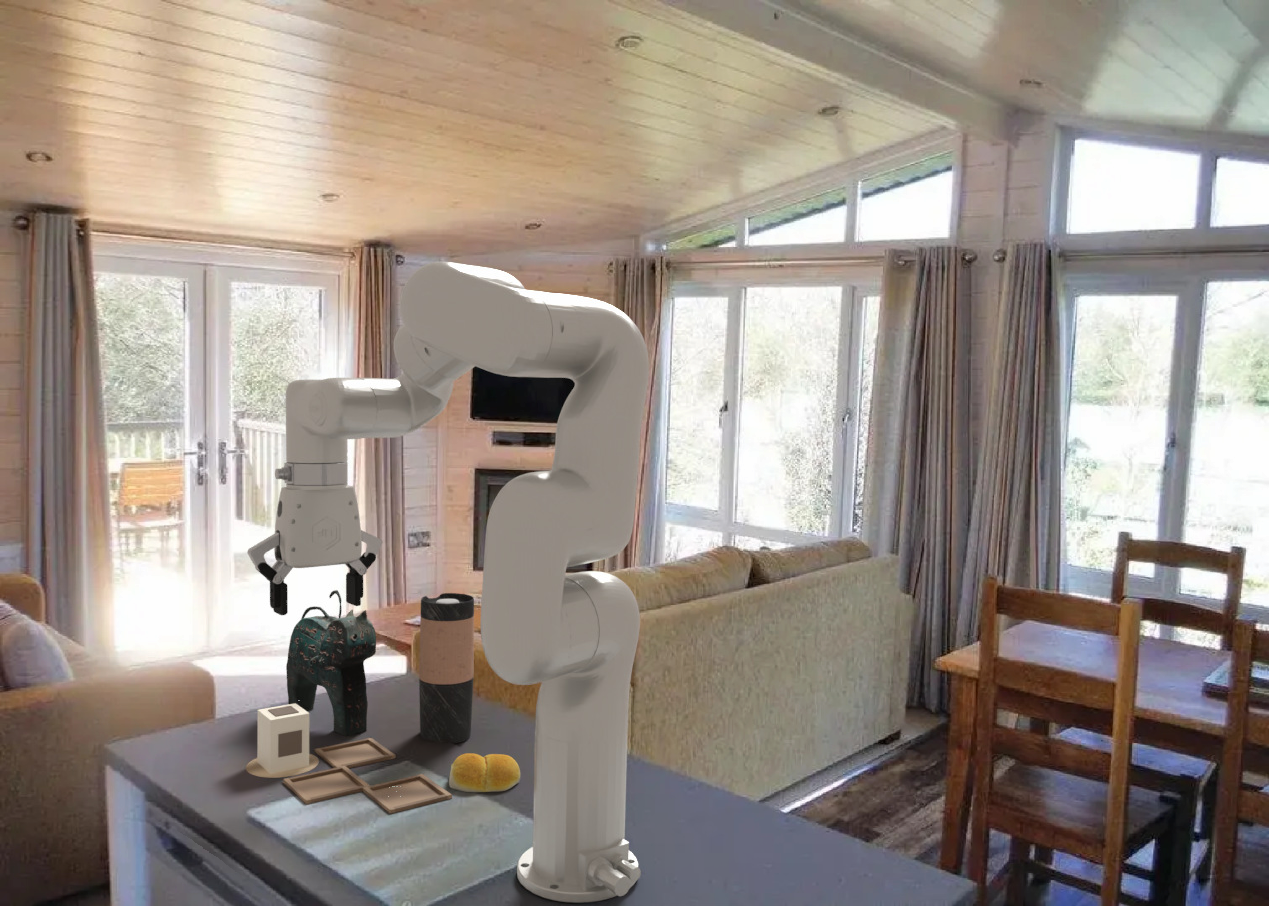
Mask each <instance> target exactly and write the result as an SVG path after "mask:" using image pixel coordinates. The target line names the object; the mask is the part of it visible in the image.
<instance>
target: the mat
mask: <svg viewBox="0 0 1269 906" xmlns="http://www.w3.org/2000/svg"><path fill="white" fill-rule="evenodd" d="M319 762H320V761H319V758H318V757H317V756H316V755H314V754H313V753H309V766H307V767H302V768H297V769H293V770H288V771H283V772H279V773H274V774H270V773H269V772H267V771H266V770H265V769H264V768H263V767H262V766H261V765H260V764H259V763H258V762H257V757H256V758H253V759H252V760H250V761H249V762H248V763H247V764H246V766H245V770H246V772H247V773H248V774H250V775H253V776H256V777H260V778H271V779H272V778H275V779H276V778H277V779H279V778H286V777H287V778H289V777H295V776H299V775H303V774H306V773H308V772H309V771H312V770H313V769H315V768H316V767H317V766H318V765H319Z"/></svg>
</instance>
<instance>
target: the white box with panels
mask: <svg viewBox="0 0 1269 906" xmlns="http://www.w3.org/2000/svg"><path fill="white" fill-rule="evenodd" d="M256 753H257V754H256V755H257V757H256V758H257V762H258V763H259V764H260V765H261V766H262V767H263V768H264V769H265V770H266V771H267V772H269V773H270V774H274V773H279V772H283V771H288V770H293V769H297V768H302V767H307V766H309V754H310V713H309V711H306V710H304V709H303V708H301V707H300V706H299V705H297V704H296V703H294V704H288V703H287V704H283V705H278V706H272V707H266V708H260V709H257V752H256Z"/></svg>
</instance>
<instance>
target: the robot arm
mask: <svg viewBox="0 0 1269 906" xmlns="http://www.w3.org/2000/svg"><path fill="white" fill-rule="evenodd" d="M399 312H400V313H399V314H400V318H401V320H402V325H401V326H400V327H399V328H398V330H397V332H396V334H395V336H394V339H393V352H394V357H395V360H396V362H397V364H398V366H399V368H400V369H401V371H402V372H403V373H402V374H400V375H398V376H397V377H395V378H381V377H329V378H323V379H296V380H292V381H291V382H290V383H288V384H287V386H286V390H285V459H286V460H285V462H284V466H283V467H281V468H275V470H274V476H275V477H274V478H275V479H276V480H282V481H284V484H285V485H286V486H285V487H284V486H283V487H281V489H280V493H279V498H278V503H277V508H276V509H277V510H276V517H275V526H274V533H273V534H271V535H270V536H268V537H266V538H264V539H263V540H261V541H259V542H258V543H257V544H254V545H252V546H251V547H249V548H248V550H247V555H248V557H249V559H250V561H251V563H252V564H253V565H254V568H255V570H256V571H257V572H259V574H261V575H262V576H263V577H264V578H265V579H266V580H267V581H269V605H270V608H271V609H273V612H274V613H276V614H277V615H280V616H286V615H287V614H288V583H286V582H285V579H286V578H287V576H288V575H289V574H290V572H291V571H292V569H305V568H308V569H309V568H316V567H326V566H327V567H328V566H337V565H338V566H339V565H345V566H346V567H347V568H348V570H349V572H347V573H346V574H345V585H346V586H345V596H346V597H345V602H346V603H347V604H350V605H352V606H355V607H359V606H361V604H362V600H361V599H362V598H363V597H364V576H365V575H366V574H367V573H368V569H369V568H370V567H371V566H372V565H373V564H374V562H376V558H377V555H379V554H378V553H379V551H380V549H381V548H382V545H383V540H382V539H381V538H379V537H377V536H374V535H373V534H372V533H368V532H366V531H364V530H362V528H361V527H362V526H361V517H360V511H359V504H358V499H357V494H356V493H357V492H356V489H355V486H354V485H349V484H348V483H349V482H348V481H349V480H348V476H349V475H348V473H349V472H348V464H349V463H348V459H349V458H348V440H360V439H382V438H383V439H388V438H390V439H392V438H399V437H403V436H407V435H408V434H411V433H413V432H415V431H417V430H418V429H420V428H421V427H423V426H424V425H426V424H427V423H429V422H431V421H432V420H433V419H435V418H436V417H438V416H440V414H441V413H442V412H443V411H444V409H446V407H447V405H448V404H449V403H448V402H449V401H450V398H451V395H452V393H453V388H454V381H456V380H458V379H459V378H461V377H462V376H463V375H465V374H466V373H468V372H469V371H471V370H472V369H474V368H475V367H476V368H479V369H482V370H484V371H487V372H490V373H493V374H496V375H500V376H505V377H506V376H507V377H516V378H545V379H546V378H547V379H549V378H555V379H556V378H558V379H559V378H561V379H562V378H563V379H564V378H565V379H570V380H571V381H573V383H574V387H573V389H571V391H570V393H569V394H568V396H567V397H566V399H565V401H564V403H563V406H562V407H561V410H560V413H559V416H558V419H557V422H556V428H555V444H554V452H553V453H554V455H553V459H552V465H551V469H550V470H540V471H534V472H533V471H532V472H526V473H524V474H520V475H518V476H516V477H513V478H512V479H511V480H509V481H508V482H507V483H505V485H503V486H502V487H501V489H500V490H499V491H498V493H497V495H496V497H495V498H494V500H493V502H492V505H491V507H490V509H489V514H488V516H487V521H486V528H485V539H484V540H485V541H484V556H483V572H482V585H481V586H482V589H481V605H480V639H481V645H482V649H483V652H484V656H485V659H486V660H487V664H488V665H489V666H490V668H491V670H492V671H493V672H494V673H495V674H496V675H497V676H498V677H499V678H500V679H502V680H503V681H506V682H507V683H510V684H513V685H518V686H528V685H529V686H530V685H534V684H535V685H536V684H540V687H539V689H538V695H537V700H536V706H535V725H534V727H535V729H534V764H533V766H534V767H533V768H534V769H533V773H534V774H533V775H534V776H533V821H532V822H533V824H532V825H533V826H532V846H531V847H530V848H528V849H527V850H525V851H524V852H523V854H521V856H520V857H519V859H518V861H517V866H516V873H517V879H518V881H519V883H520V884H521V885H522V886H523V888H525V889H526V890H528V891H529V892H531V893H532V894H534V895H536V896H539V897H542V898H544V899H548V900H551V901H557V902H564V903H574V904H575V903H576V904H577V903H578V904H579V903H580V904H581V903H594V902H600V901H601V902H602V901H604V900H608V899H612V898H614V897H617V896H618V897H622V896H625V895H626V894H628V892H629V890H630V889H631V888H632V887H633V886H634V885H635V883H636V882H637V881H638V880H639V879H640V877H641V875H642V871H641V869H640V868H639V867H640V866H639V865H640V864H639V861H638V859H637V857H636V855H635V854H634V853H633V852H632V851H630V842H629V840H626V839H625V836H626V835H625V834H626V802H627V801H626V800H627V799H626V798H627V795H626V794H627V764H628V762H627V761H628V760H627V759H628V729H629V708H630V707H629V703H630V690H631V689H630V688H631V679H632V671H633V668H634V666H633V665H634V661H635V657H636V653H637V652H636V651H637V648H638V642H639V637H640V629H641V616H640V615H641V614H640V608H639V605H638V601H637V599H636V597H635V595H634V592H633V590H631V588H630V587H629V585H628V584H627V583H625V582H624V581H623V580H622V579H620V578H619V577H617V576H616V575H614V574H611V573H609V572H604V571H594V570H588V571H579V572H573V573H568V574H566V572H567V568H569V567H574V566H575V567H576V566H580V565H581V566H582V565H585V564H586V565H587V564H590V563H595V562H601V561H603V560H607V559H610V558H613V557H614V556H617V555H619V554H620V553H621V552H623V551H624V549H625V548H626V546H627V545H628V544H629V542H630V540H631V537H632V534H633V530H634V522H635V511H636V501H637V500H636V499H637V486H638V476H639V475H638V474H639V463H640V462H639V461H640V449H641V448H640V442H641V441H640V440H641V433H642V432H641V430H642V424H643V423H642V422H643V421H642V420H643V416H644V408H645V402H646V397H647V391H648V385H649V377H650V376H649V375H650V373H649V372H650V360H649V353H648V348H647V345H646V341H645V339H644V336H643V335H642V333H641V331H640V329H639V327H638V326H637V325H636V324H635V322H634V321H633V320H632V319H631V317H629V316H628V315H627V314H626V313H625V312H623V311H622V310H620V309H619V308H617V307H615V306H614V305H612V304H609V303H607V302H605V301H602V300H598V299H595V298H591V297H586V296H580V295H576V294H575V295H574V294H566V293H555V292H546V291H539V290H531V289H526V288H525V286H524V285H523V283H521V281H519V280H518V279H517V278H516V277H514V276H513V275H511V274H509V273H508V272H505V271H502V270H499V269H496V268H492V267H487V266H479V265H472V264H465V263H459V262H453V261H452V262H451V261H441V260H440V261H434V262H429V263H427V264H424V265H423V266H420V267H419V268H417V270H415V271H414V272H413V273H412V274H411V275H410V276H409V277H408V279H407V280H406V282H405V283H404V286H403V288H402V290H401V294H400V300H399ZM362 542H363V543H365V544H366V548H365V552H363V550H362V549H363V548H362V546H363V543H362ZM273 549H274V551H273V553H274V557H275V560H276V562H275V563H274V564H273V566H271V565H270V564H268V563H267V561H266V559H265V554H267V553H268V552H270V551H271V550H273ZM362 552H363V553H362Z"/></svg>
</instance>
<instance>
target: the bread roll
mask: <svg viewBox="0 0 1269 906" xmlns="http://www.w3.org/2000/svg"><path fill="white" fill-rule="evenodd" d="M520 769H521V768H520V766H519V764H518V762H517V761H516V759H514V758H513V757H512V756H510V755H508V754H501V753H500V754H499V753H491V754H490V753H489V754H486V755H485V756H482V755H480V754H477V753H469V752H468V753H467V752H466V753H463V754H460V755H458V756H457V757H456V759H455V760H454V761H453V763H452V764H450V773H449V777H448V778H449V780H448V785H449V788H450V789H453V790H455V791H456V790H457V791H460V792H465V793H486V792H487V793H488V792H492V793H493V792H494V793H495V792H505V791H507V790H509V789H511V788H513V787H514V786H516V785H517V784H519V782H520V780H521V770H520Z"/></svg>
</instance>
